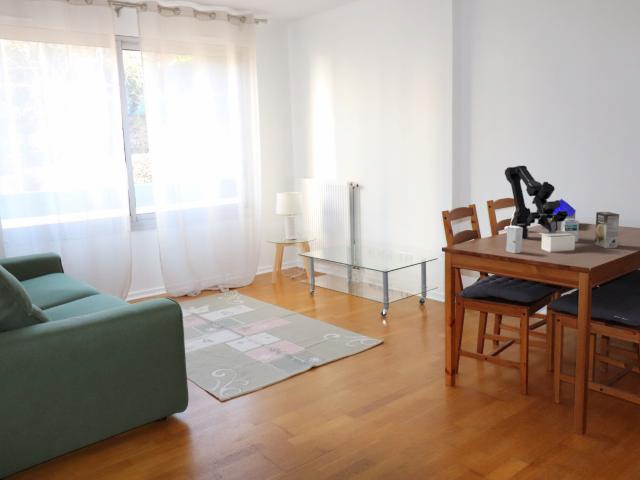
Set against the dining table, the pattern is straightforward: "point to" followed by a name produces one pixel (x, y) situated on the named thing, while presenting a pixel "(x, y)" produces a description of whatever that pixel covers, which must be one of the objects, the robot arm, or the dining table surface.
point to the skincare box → (514, 239)
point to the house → (563, 207)
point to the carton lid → (554, 231)
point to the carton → (558, 243)
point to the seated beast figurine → (511, 220)
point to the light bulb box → (570, 227)
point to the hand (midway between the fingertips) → (553, 230)
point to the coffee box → (606, 229)
